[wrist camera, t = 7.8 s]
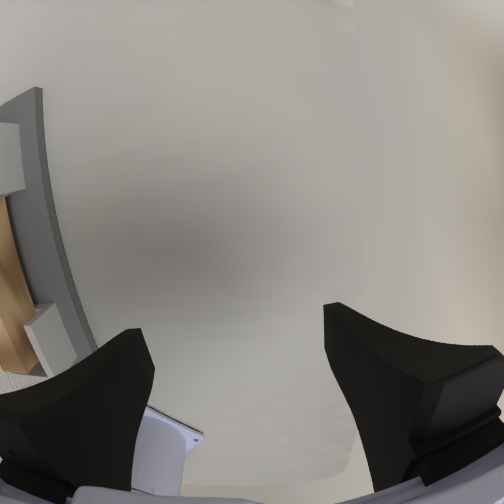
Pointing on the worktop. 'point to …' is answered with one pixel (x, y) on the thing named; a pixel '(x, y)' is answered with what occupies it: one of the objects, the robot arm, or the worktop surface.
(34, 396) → the robot arm
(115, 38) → the worktop surface
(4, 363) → the rail
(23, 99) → the bracket board
